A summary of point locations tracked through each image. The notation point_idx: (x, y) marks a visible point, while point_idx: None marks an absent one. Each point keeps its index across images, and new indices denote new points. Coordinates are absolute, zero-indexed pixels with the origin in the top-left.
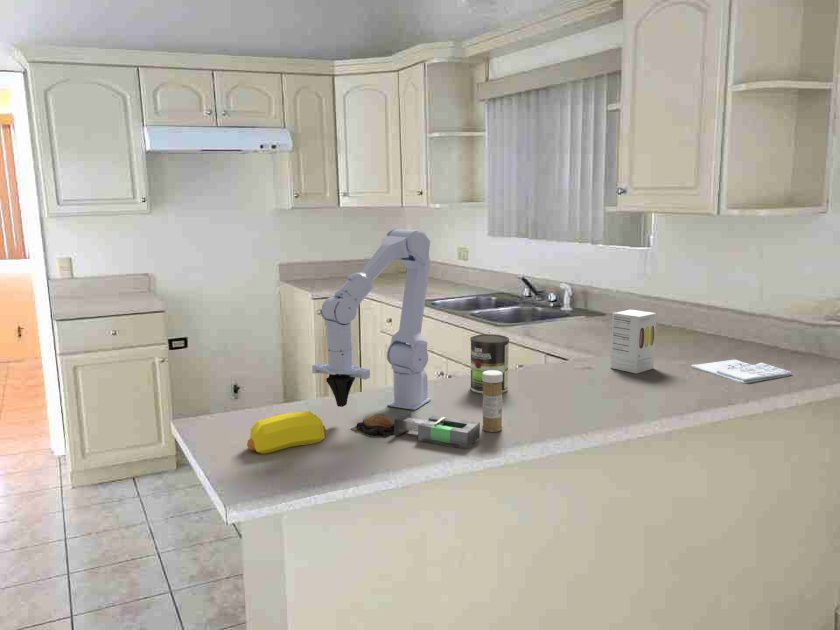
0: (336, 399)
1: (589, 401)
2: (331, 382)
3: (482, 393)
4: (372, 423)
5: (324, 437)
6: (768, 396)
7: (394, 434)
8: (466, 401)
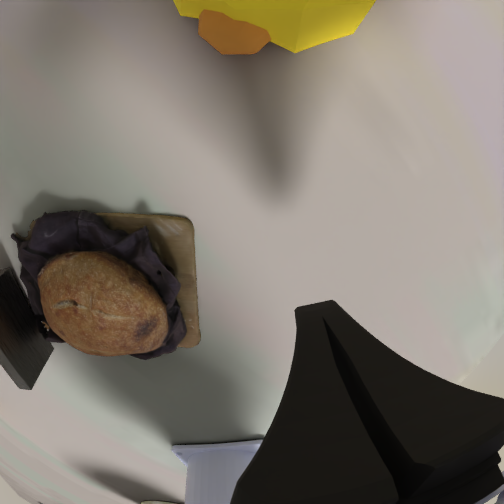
0: (347, 324)
1: (48, 484)
2: (444, 426)
3: (159, 501)
4: (63, 270)
5: (178, 11)
6: (8, 484)
7: (7, 268)
8: (144, 484)
